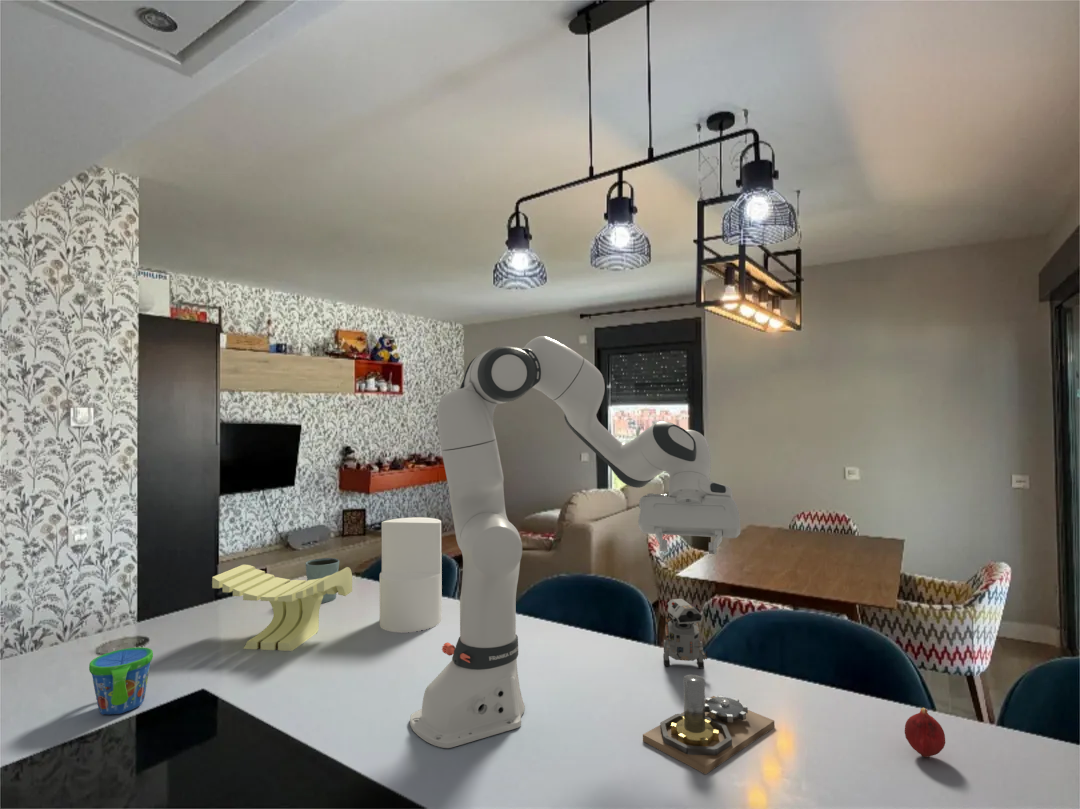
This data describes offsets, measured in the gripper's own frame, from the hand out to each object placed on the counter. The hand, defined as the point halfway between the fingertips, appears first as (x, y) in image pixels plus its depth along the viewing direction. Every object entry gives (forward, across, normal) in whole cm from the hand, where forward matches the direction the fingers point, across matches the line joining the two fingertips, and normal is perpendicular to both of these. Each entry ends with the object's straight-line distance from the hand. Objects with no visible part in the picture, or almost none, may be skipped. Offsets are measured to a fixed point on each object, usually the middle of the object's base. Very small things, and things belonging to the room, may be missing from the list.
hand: (687, 551), depth 117 cm
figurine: (+8, -2, +36) cm, 37 cm away
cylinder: (0, -78, +44) cm, 90 cm away
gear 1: (+29, +1, +13) cm, 32 cm away
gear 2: (+24, +7, +19) cm, 31 cm away
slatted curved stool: (+14, -104, +30) cm, 109 cm away
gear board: (+28, +4, +16) cm, 32 cm away
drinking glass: (-8, -116, +52) cm, 127 cm away
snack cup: (+43, -110, +2) cm, 118 cm away
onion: (+26, +39, +18) cm, 50 cm away
